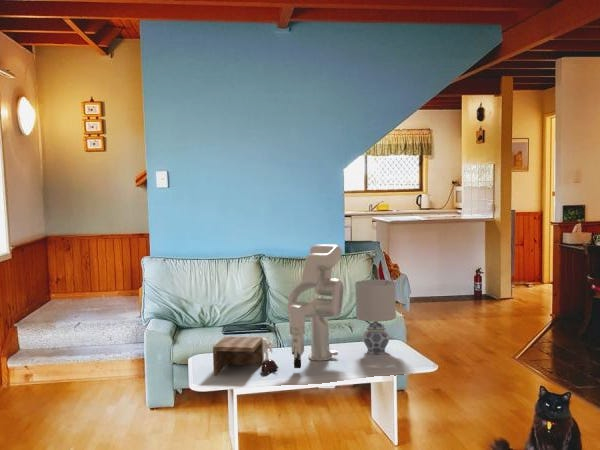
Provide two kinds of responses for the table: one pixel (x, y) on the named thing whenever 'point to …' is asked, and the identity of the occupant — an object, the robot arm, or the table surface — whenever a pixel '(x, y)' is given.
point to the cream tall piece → (266, 347)
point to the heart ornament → (268, 367)
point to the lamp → (375, 311)
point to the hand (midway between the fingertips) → (297, 367)
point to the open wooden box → (237, 352)
